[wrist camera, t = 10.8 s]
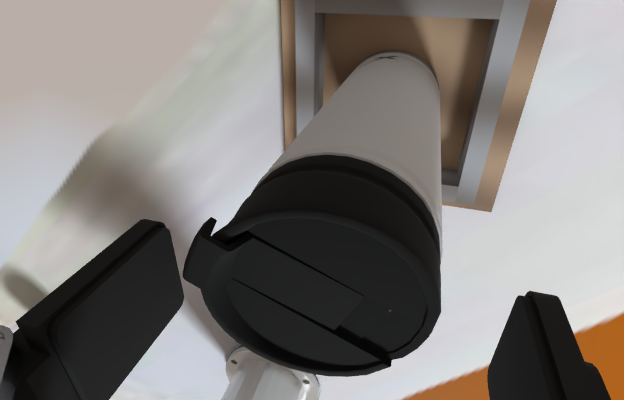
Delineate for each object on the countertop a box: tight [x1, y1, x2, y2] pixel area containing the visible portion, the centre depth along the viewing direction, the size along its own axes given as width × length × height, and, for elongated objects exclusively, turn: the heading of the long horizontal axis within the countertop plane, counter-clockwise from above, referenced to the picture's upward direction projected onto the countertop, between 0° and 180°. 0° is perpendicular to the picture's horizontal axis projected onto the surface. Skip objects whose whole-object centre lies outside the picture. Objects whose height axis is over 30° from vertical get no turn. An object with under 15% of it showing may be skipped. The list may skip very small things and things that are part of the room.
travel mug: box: [183, 50, 442, 377], centre depth 17 cm, size 6×7×20 cm
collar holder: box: [281, 0, 557, 212], centre depth 25 cm, size 16×16×4 cm
